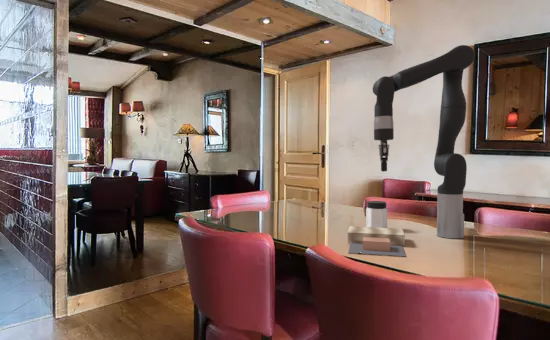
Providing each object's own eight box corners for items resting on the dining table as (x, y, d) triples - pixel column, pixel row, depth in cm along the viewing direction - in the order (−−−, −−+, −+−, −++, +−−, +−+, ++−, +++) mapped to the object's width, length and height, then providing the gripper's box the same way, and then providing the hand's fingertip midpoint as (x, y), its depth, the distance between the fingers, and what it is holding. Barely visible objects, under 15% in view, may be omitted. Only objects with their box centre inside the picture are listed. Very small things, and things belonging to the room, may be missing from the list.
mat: (401, 246, 128) (401, 245, 128) (405, 257, 114) (405, 256, 114) (350, 243, 133) (350, 242, 133) (348, 253, 119) (348, 252, 119)
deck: (401, 238, 140) (401, 228, 140) (404, 246, 128) (404, 235, 128) (349, 236, 145) (349, 226, 145) (347, 243, 133) (347, 232, 133)
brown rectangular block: (390, 242, 120) (390, 251, 121) (389, 238, 126) (389, 246, 126) (362, 240, 123) (362, 249, 123) (362, 237, 128) (362, 245, 129)
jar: (379, 231, 153) (379, 203, 153) (363, 228, 159) (363, 202, 159) (390, 228, 160) (390, 201, 159) (373, 226, 166) (374, 200, 165)
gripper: (395, 126, 136) (395, 172, 137) (392, 128, 149) (392, 170, 150) (374, 127, 138) (375, 172, 139) (373, 129, 151) (373, 170, 151)
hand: (384, 171), depth 144 cm, fingers closed
